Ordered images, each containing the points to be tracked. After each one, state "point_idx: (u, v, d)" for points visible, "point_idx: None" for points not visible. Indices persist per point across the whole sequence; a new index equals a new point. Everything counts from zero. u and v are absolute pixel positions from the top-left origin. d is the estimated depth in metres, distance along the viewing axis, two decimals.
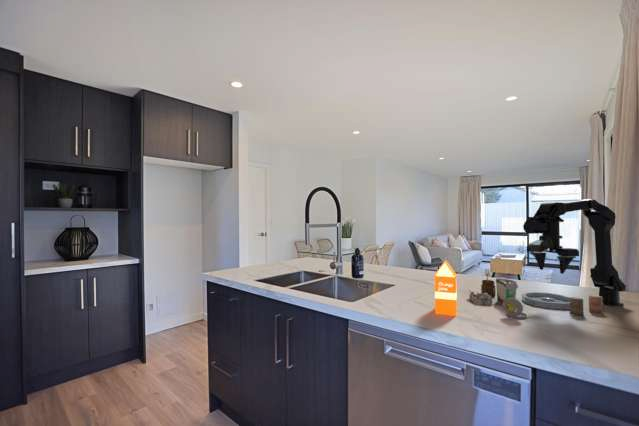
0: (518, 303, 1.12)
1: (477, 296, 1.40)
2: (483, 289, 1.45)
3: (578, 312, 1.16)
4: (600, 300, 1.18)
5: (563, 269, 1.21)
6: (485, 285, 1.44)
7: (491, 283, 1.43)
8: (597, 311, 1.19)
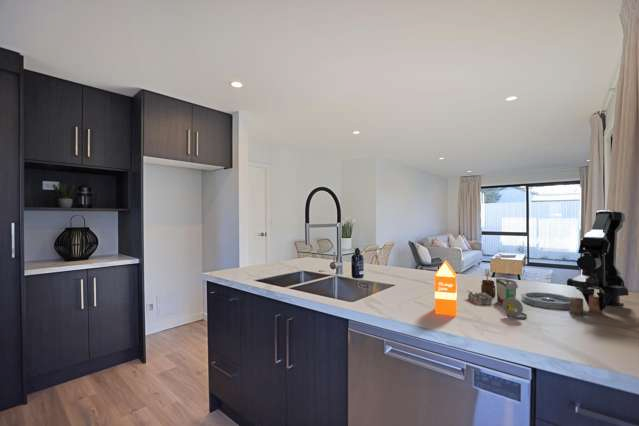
0: (518, 303, 1.12)
1: (475, 296, 1.40)
2: (483, 289, 1.45)
3: (578, 312, 1.16)
4: None
5: (603, 306, 1.18)
6: (485, 285, 1.44)
7: (491, 283, 1.43)
8: (597, 311, 1.19)
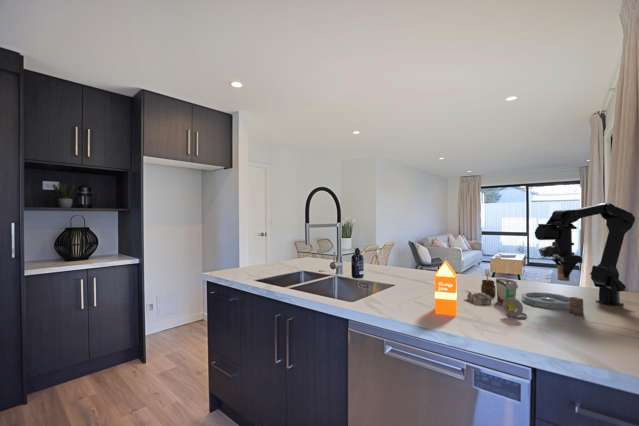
0: (518, 303, 1.12)
1: (474, 296, 1.40)
2: (483, 289, 1.45)
3: (578, 312, 1.16)
4: None
5: (566, 274, 1.28)
6: (485, 285, 1.44)
7: (491, 283, 1.43)
8: (561, 278, 1.29)
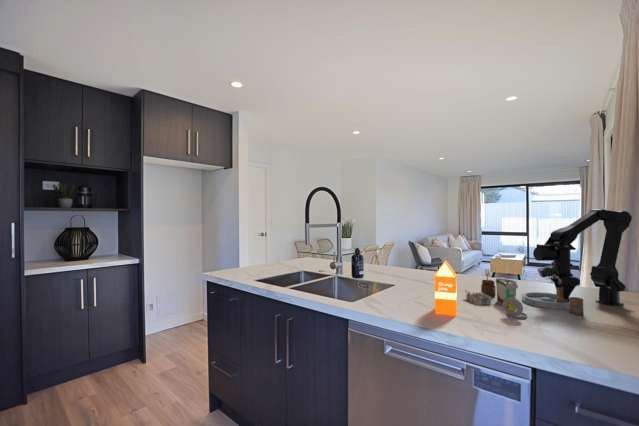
0: (518, 303, 1.12)
1: (473, 296, 1.40)
2: (483, 289, 1.45)
3: (578, 312, 1.16)
4: None
5: (566, 295, 1.27)
6: (485, 285, 1.44)
7: (491, 283, 1.43)
8: (560, 301, 1.30)
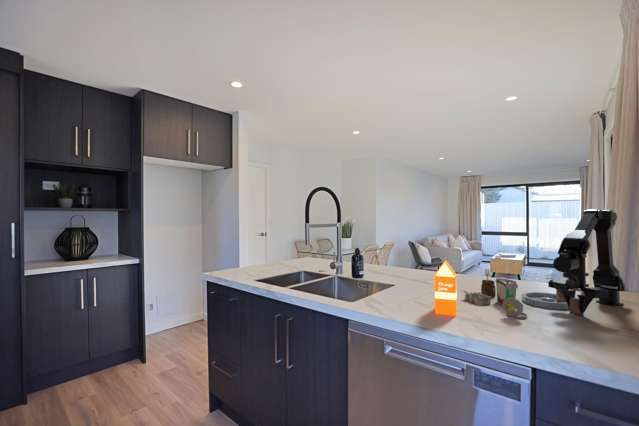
0: (518, 303, 1.12)
1: (471, 296, 1.40)
2: (483, 289, 1.45)
3: (578, 312, 1.16)
4: None
5: (583, 308, 1.15)
6: (485, 285, 1.44)
7: (491, 283, 1.43)
8: (560, 301, 1.30)
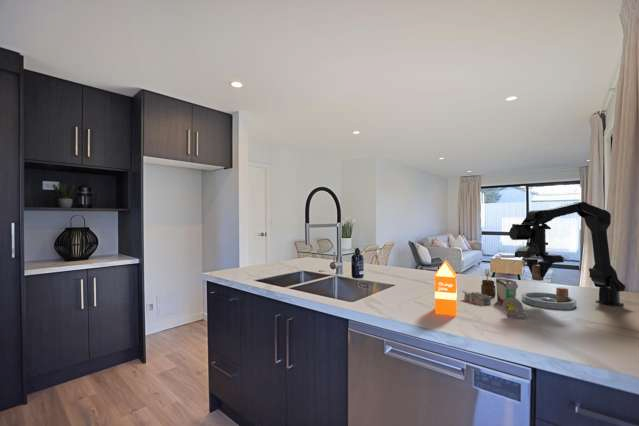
0: (518, 303, 1.12)
1: None
2: (483, 289, 1.45)
3: (539, 277, 1.30)
4: (563, 292, 1.29)
5: (543, 273, 1.29)
6: (485, 285, 1.44)
7: (491, 283, 1.43)
8: (560, 301, 1.30)
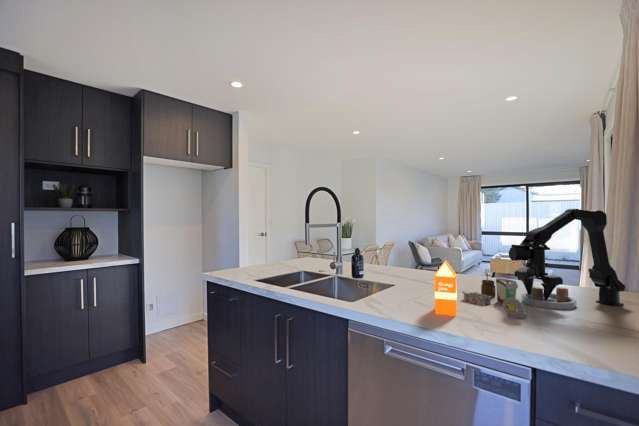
0: (518, 303, 1.12)
1: None
2: (483, 289, 1.45)
3: None
4: (563, 292, 1.29)
5: (547, 295, 1.27)
6: (485, 285, 1.44)
7: (491, 283, 1.43)
8: (560, 301, 1.30)
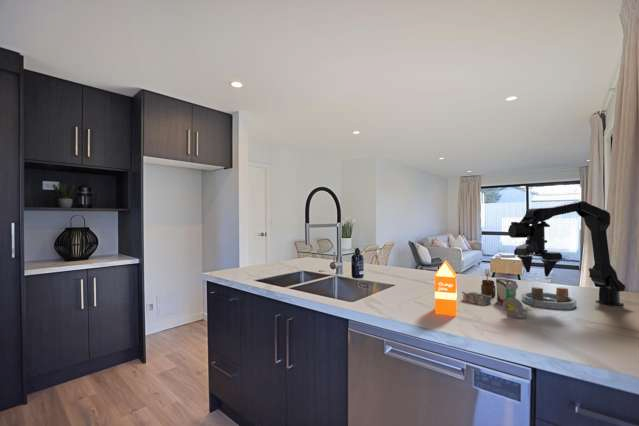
0: (518, 303, 1.12)
1: None
2: (483, 289, 1.45)
3: None
4: (563, 292, 1.29)
5: (547, 272, 1.27)
6: (485, 285, 1.44)
7: (491, 283, 1.43)
8: (560, 301, 1.30)
